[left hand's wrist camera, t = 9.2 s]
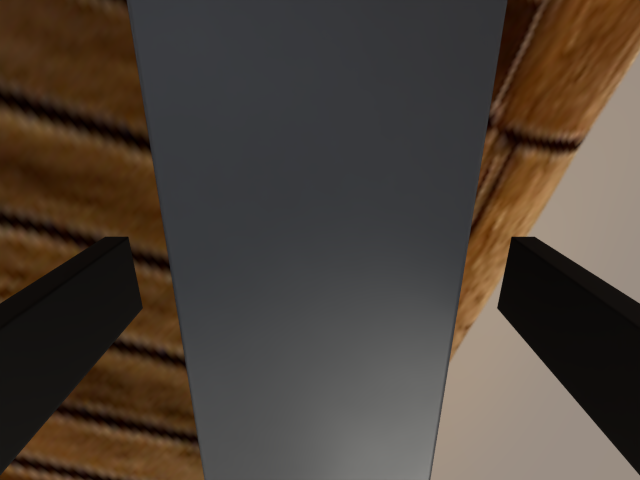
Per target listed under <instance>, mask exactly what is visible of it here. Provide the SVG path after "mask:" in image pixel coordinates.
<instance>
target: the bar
mask: <svg viewBox="0 0 640 480" xmlns="http://www.w3.org/2000/svg"><path fill="white" fill-rule="evenodd" d="M127 5H128V11H129V17H130V23H131V29H132V36H133V42H134V48H135V54H136V60H137V66H138V72H139V79H140V85H141V91H142V97H143V103H144V109H145V116H146V122H147V128H148V134H149V140H150V146H151V152H152V159H153V165H154V171H155V177H156V183H157V189H158V196H159V202H160V208H161V214H162V220H163V226H164V232H165V239H166V245H167V251H168V257H169V263H170V269H171V275H172V282H173V288H174V294H175V300H176V306H177V312H178V319H179V325H180V331H181V337H182V343H183V349H184V355H185V362H186V368H187V374H188V380H189V386H190V392H191V399H192V405H193V411H194V417H195V423H196V429H197V435H198V442H199V448H200V454H201V460H202V466H203V472H204V479H205V480H430V477H431V471H432V465H433V459H434V453H435V446H436V440H437V434H438V428H439V422H440V415H441V409H442V403H443V397H444V391H445V384H446V378H447V372H448V366H449V359H450V353H451V347H452V341H453V335H454V328H455V322H456V316H457V310H458V303H459V297H460V291H461V285H462V279H463V272H464V266H465V260H466V254H467V247H468V241H469V235H470V229H471V223H472V216H473V210H474V204H475V198H476V191H477V185H478V179H479V173H480V167H481V160H482V154H483V148H484V142H485V136H486V129H487V123H488V117H489V111H490V104H491V98H492V92H493V86H494V80H495V73H496V67H497V61H498V55H499V48H500V42H501V36H502V30H503V24H504V17H505V11H506V5H507V0H127Z"/></svg>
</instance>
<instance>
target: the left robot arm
mask: <svg viewBox="0 0 640 480" xmlns="http://www.w3.org/2000/svg"><path fill="white" fill-rule="evenodd" d="M142 308H143V307H142V302H141V297H140V292H139V287H138V282H137V277H136V272H135V268H134V263H133V258H132V253H131V248H130V243H129V238H128V237H104V238H103V239H101V240H100V241H98V242H96V243H95V244H93V245H92V246H90V247H89V248H87V249H85V250H84V251H82V252H81V253H79V254H78V255H76V256H74V257H73V258H71V259H70V260H68V261H67V262H65V263H63V264H62V265H60V266H59V267H57V268H56V269H54V270H52V271H51V272H49V273H48V274H46V275H45V276H43V277H41V278H40V279H38V280H37V281H35V282H33V283H32V284H30V285H29V286H27V287H26V288H24V289H22V290H21V291H19V292H18V293H16V294H15V295H13V296H11V297H10V298H8V299H7V300H5V301H4V302H2V303H0V475H1V474H2V473H3V471H4V470H5V469H6V468H7V467H8V465H9V464H10V463H11V462H12V461H13V460H14V458H15V457H16V456H17V455H18V454H19V453H20V451H21V450H22V449H23V448H24V447H25V446H26V444H27V443H28V442H29V441H30V440H31V439H32V437H33V436H34V435H35V434H36V433H37V432H38V430H39V429H40V428H41V427H42V426H43V424H44V423H45V422H46V421H47V420H48V419H49V417H50V416H51V415H52V414H53V413H54V412H55V410H56V409H57V408H58V407H59V406H60V405H61V403H62V402H63V401H64V400H65V399H66V398H67V396H68V395H69V394H70V393H71V392H72V390H73V389H74V388H75V387H76V386H77V385H78V383H79V382H80V381H81V380H82V379H83V378H84V376H85V375H86V374H87V373H88V372H89V371H90V369H91V368H92V367H93V366H94V365H95V364H96V362H97V361H98V360H99V359H100V358H101V357H102V355H103V354H104V353H105V352H106V351H107V349H108V348H109V347H110V346H111V345H112V344H113V342H114V341H115V340H116V339H117V338H118V337H119V335H120V334H121V333H122V332H123V331H124V330H125V328H126V327H127V326H128V325H129V324H130V323H131V321H132V320H133V319H134V318H135V317H136V315H137V314H138V313H139V312H140V311H141V310H142ZM497 308H498V310H499V311H500V312H501V313H502V314H503V315H504V317H505V318H506V319H507V320H508V321H509V323H510V324H511V325H512V326H513V327H514V328H515V330H516V331H517V332H518V333H519V334H520V335H521V337H522V338H523V339H524V340H525V341H526V342H527V344H528V345H529V346H530V347H531V348H532V349H533V351H534V352H535V353H536V354H537V355H538V356H539V358H540V359H541V360H542V361H543V362H544V364H545V365H546V366H547V367H548V368H549V369H550V371H551V372H552V373H553V374H554V375H555V376H556V378H557V379H558V380H559V381H560V382H561V383H562V385H563V386H564V387H565V388H566V389H567V391H568V392H569V393H570V394H571V395H572V396H573V398H574V399H575V400H576V401H577V402H578V403H579V405H580V406H581V407H582V408H583V409H584V410H585V412H586V413H587V414H588V415H589V416H590V417H591V419H592V420H593V421H594V422H595V423H596V424H597V426H598V427H599V428H600V429H601V430H602V432H603V433H604V434H605V435H606V436H607V437H608V438H609V440H610V441H611V442H612V443H613V444H614V446H615V447H616V448H617V449H618V450H619V451H620V453H621V454H622V455H623V456H624V457H625V458H626V460H627V461H628V462H629V463H630V464H631V466H632V467H633V468H634V469H635V470H636V471H637V473H638V474H639V475H640V303H638V302H636V301H635V300H633V299H632V298H630V297H629V296H627V295H625V294H624V293H622V292H621V291H619V290H618V289H616V288H614V287H613V286H611V285H610V284H608V283H606V282H605V281H603V280H602V279H600V278H599V277H597V276H595V275H594V274H592V273H591V272H589V271H588V270H586V269H584V268H583V267H581V266H580V265H578V264H577V263H575V262H573V261H572V260H570V259H569V258H567V257H566V256H564V255H562V254H561V253H559V252H558V251H556V250H555V249H553V248H551V247H550V246H548V245H547V244H545V243H543V242H542V241H540V240H539V239H537V238H536V237H512V238H511V243H510V248H509V253H508V258H507V263H506V267H505V272H504V277H503V282H502V287H501V292H500V297H499V302H498V307H497Z"/></svg>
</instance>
